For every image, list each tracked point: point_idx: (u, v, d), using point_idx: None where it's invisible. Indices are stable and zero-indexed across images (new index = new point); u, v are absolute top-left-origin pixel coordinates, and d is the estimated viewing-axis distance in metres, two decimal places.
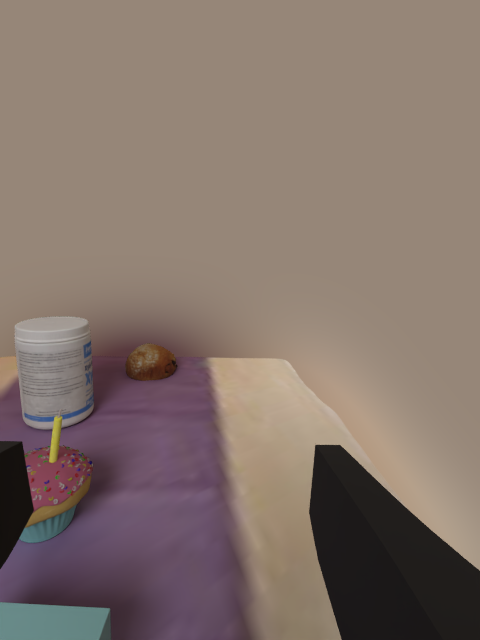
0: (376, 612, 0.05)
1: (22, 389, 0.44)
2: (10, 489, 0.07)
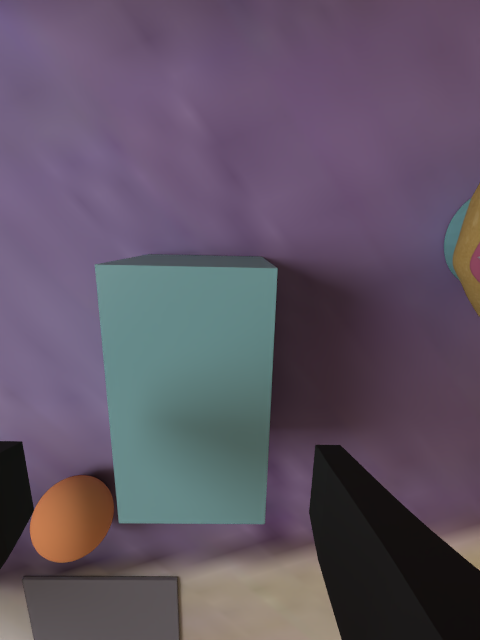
0: (376, 612, 0.05)
1: None
2: (10, 489, 0.07)
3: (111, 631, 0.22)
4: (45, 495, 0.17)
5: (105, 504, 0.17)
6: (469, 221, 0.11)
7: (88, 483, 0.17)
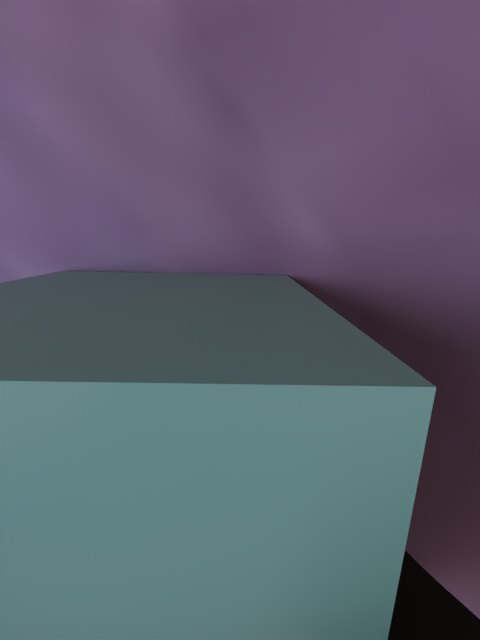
0: None
1: None
2: None
3: None
4: None
5: None
6: None
7: None
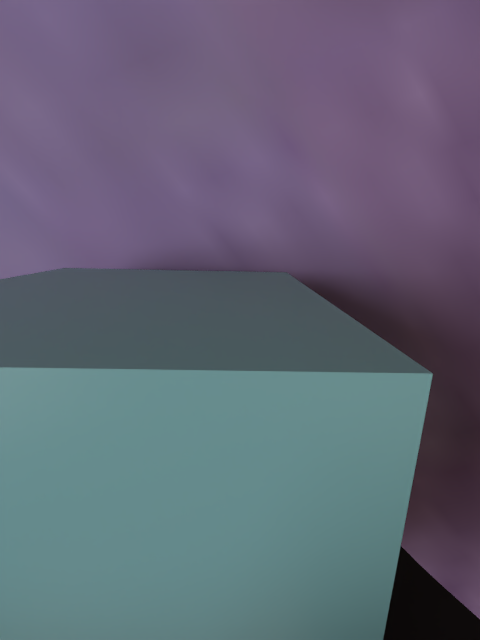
0: None
1: None
2: None
3: None
4: None
5: None
6: None
7: None
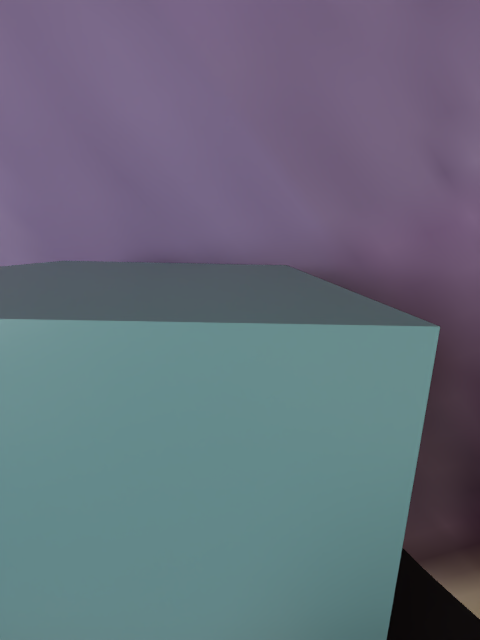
0: None
1: None
2: None
3: None
4: None
5: None
6: None
7: None
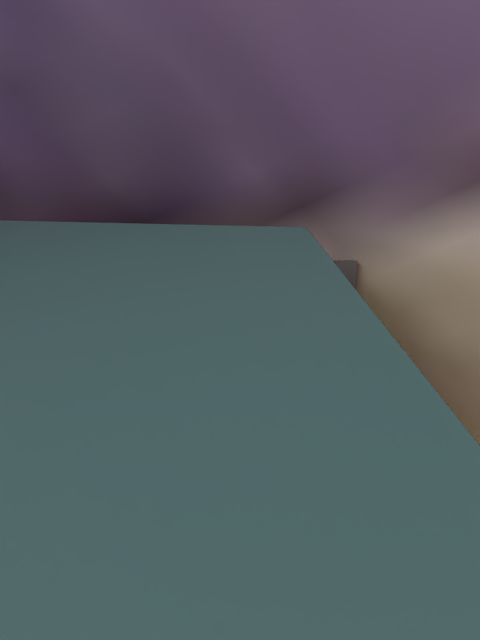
0: None
1: None
2: None
3: None
4: None
5: None
6: None
7: None
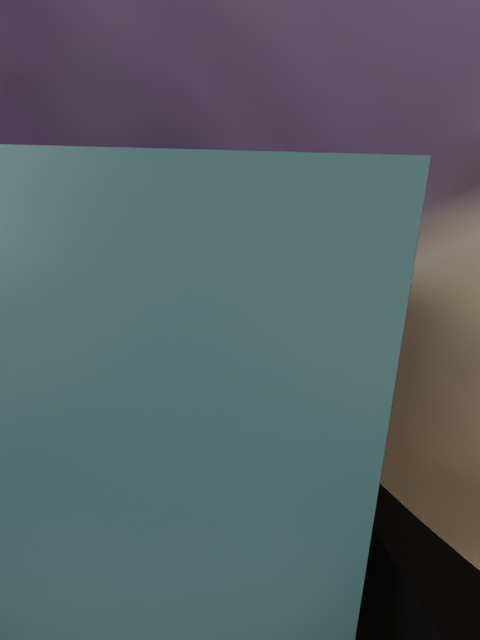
0: (376, 612, 0.05)
1: None
2: None
3: None
4: None
5: None
6: None
7: None
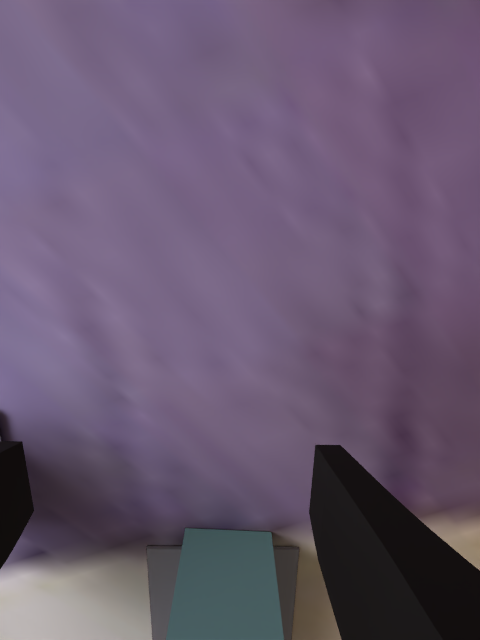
0: (375, 611, 0.05)
1: None
2: (10, 489, 0.07)
3: None
4: None
5: None
6: None
7: None
